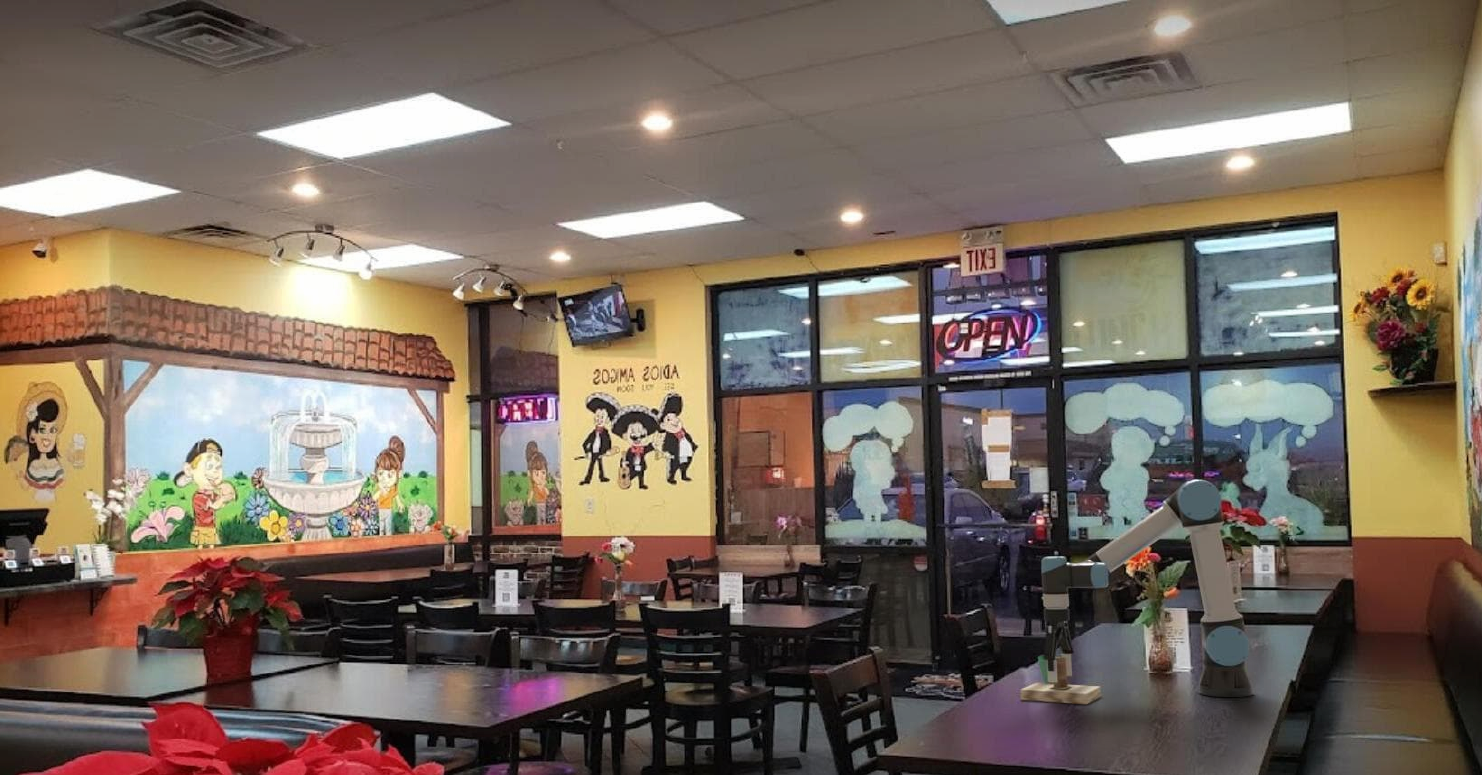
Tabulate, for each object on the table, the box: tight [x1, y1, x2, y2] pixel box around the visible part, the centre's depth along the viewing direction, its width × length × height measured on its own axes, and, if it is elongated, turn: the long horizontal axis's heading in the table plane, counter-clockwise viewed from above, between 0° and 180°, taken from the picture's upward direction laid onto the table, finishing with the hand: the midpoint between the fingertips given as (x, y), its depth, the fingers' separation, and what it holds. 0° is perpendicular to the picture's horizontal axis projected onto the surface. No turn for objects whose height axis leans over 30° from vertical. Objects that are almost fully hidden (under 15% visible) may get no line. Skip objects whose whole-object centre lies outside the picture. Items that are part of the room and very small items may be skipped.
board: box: [1020, 682, 1102, 705], centre depth 362 cm, size 20×14×3 cm
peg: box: [1054, 657, 1068, 690], centre depth 363 cm, size 4×4×12 cm
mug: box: [1037, 654, 1062, 684], centre depth 381 cm, size 15×10×10 cm
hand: (1060, 678), depth 363 cm, fingers open, 13 cm apart
